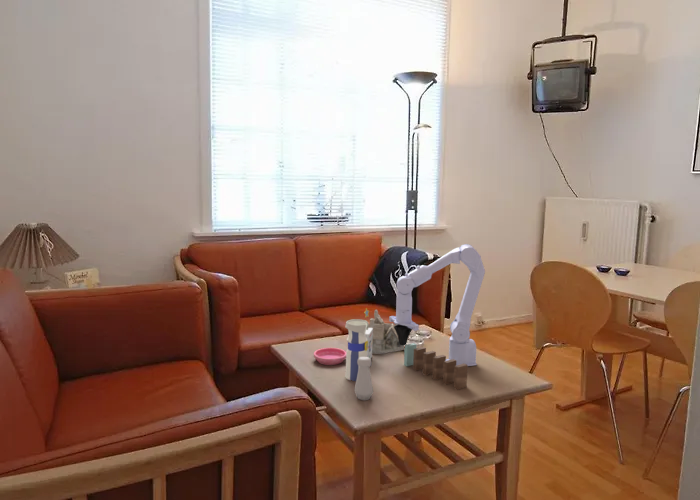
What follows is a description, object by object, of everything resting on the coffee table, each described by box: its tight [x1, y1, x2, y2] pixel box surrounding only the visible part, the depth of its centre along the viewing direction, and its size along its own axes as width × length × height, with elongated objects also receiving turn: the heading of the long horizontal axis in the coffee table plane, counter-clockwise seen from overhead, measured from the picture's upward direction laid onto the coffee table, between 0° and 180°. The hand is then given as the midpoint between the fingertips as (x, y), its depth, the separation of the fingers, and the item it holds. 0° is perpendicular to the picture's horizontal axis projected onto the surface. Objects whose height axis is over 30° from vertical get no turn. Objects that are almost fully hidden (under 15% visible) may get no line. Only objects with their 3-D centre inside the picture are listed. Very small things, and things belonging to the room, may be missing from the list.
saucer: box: [313, 347, 347, 366], centre depth 199 cm, size 12×12×3 cm
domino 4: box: [432, 354, 447, 381], centre depth 183 cm, size 2×4×8 cm, turn 124°
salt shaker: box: [354, 357, 374, 401], centre depth 166 cm, size 6×6×13 cm
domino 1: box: [403, 342, 418, 367], centre depth 195 cm, size 2×4×8 cm, turn 125°
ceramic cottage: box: [368, 309, 404, 355], centre depth 213 cm, size 16×16×15 cm
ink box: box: [365, 328, 373, 360], centre depth 199 cm, size 9×5×12 cm, turn 168°
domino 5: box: [442, 359, 456, 385], centre depth 179 cm, size 2×4×8 cm, turn 125°
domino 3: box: [422, 350, 437, 376], centre depth 187 cm, size 2×4×8 cm, turn 125°
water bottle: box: [344, 307, 370, 382], centre depth 182 cm, size 8×9×25 cm
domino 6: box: [453, 364, 469, 391], centre depth 175 cm, size 2×4×8 cm, turn 124°
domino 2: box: [412, 346, 427, 372], centre depth 191 cm, size 2×4×8 cm, turn 124°
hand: (402, 344), depth 198 cm, fingers closed
